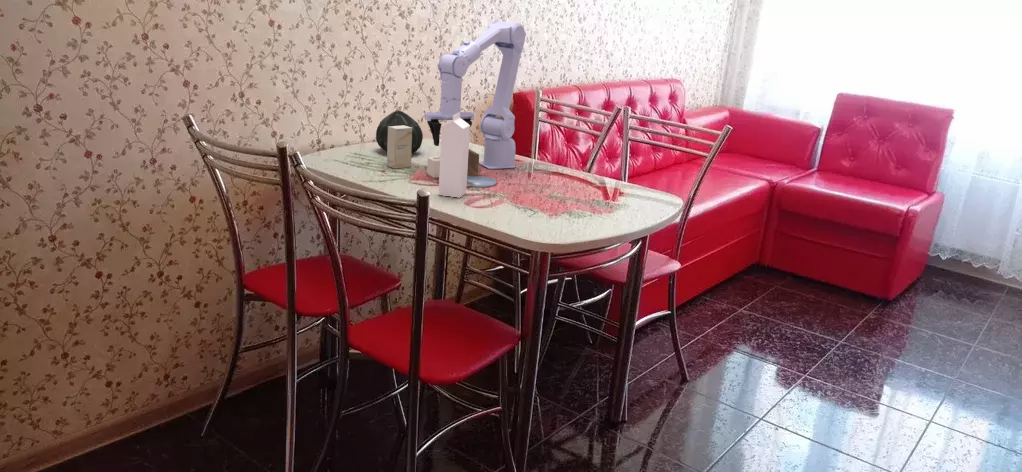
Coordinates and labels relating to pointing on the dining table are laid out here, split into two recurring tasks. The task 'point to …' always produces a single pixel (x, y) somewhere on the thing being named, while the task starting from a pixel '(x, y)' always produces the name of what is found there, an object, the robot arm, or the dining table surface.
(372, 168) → the dining table surface
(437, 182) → the cork mat
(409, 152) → the skincare box
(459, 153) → the milk
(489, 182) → the light blue plate
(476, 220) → the dining table surface
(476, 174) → the brown upright panel
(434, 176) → the letter cube
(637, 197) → the dining table surface
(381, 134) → the squash
